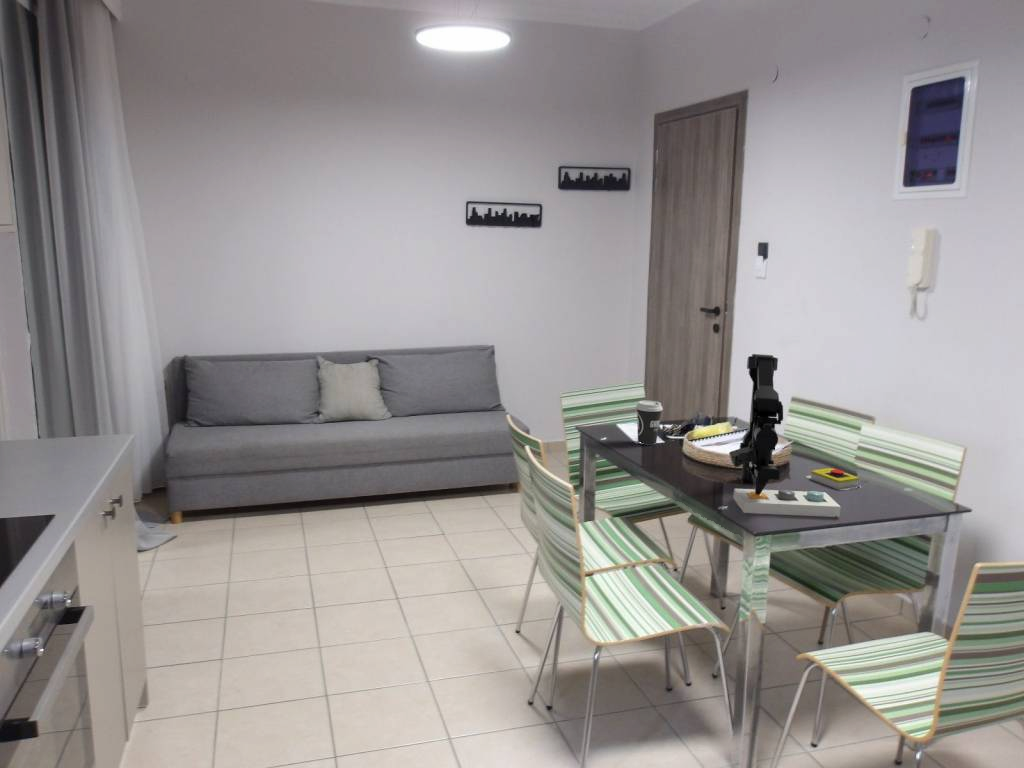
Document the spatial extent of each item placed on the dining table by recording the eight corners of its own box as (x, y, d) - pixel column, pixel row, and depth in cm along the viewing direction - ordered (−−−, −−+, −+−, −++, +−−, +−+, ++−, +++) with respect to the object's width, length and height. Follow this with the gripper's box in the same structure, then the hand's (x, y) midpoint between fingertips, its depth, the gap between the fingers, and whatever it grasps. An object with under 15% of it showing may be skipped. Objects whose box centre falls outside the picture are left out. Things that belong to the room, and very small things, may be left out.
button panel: (733, 498, 231) (734, 488, 230) (824, 502, 230) (825, 492, 229) (743, 512, 219) (744, 502, 218) (839, 517, 218) (840, 506, 217)
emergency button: (843, 478, 240) (805, 465, 253) (842, 492, 241) (803, 478, 254) (865, 475, 244) (826, 462, 257) (863, 489, 245) (824, 475, 258)
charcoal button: (775, 497, 226) (776, 489, 226) (791, 498, 226) (792, 490, 226) (780, 503, 222) (781, 494, 221) (796, 503, 222) (796, 495, 221)
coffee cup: (645, 448, 282) (647, 406, 279) (628, 441, 290) (630, 401, 287) (665, 445, 286) (668, 404, 283) (648, 438, 294) (651, 399, 292)
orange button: (746, 499, 227) (747, 491, 226) (762, 500, 226) (763, 491, 226) (750, 504, 222) (751, 496, 222) (766, 505, 222) (767, 496, 222)
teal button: (804, 499, 226) (804, 490, 225) (819, 499, 226) (820, 491, 225) (809, 504, 222) (810, 495, 221) (825, 504, 221) (826, 496, 221)
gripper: (725, 430, 230) (721, 482, 233) (741, 448, 212) (736, 504, 215) (764, 432, 230) (759, 484, 233) (784, 450, 212) (778, 505, 215)
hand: (757, 494), depth 224 cm, fingers closed, pressing on orange button
